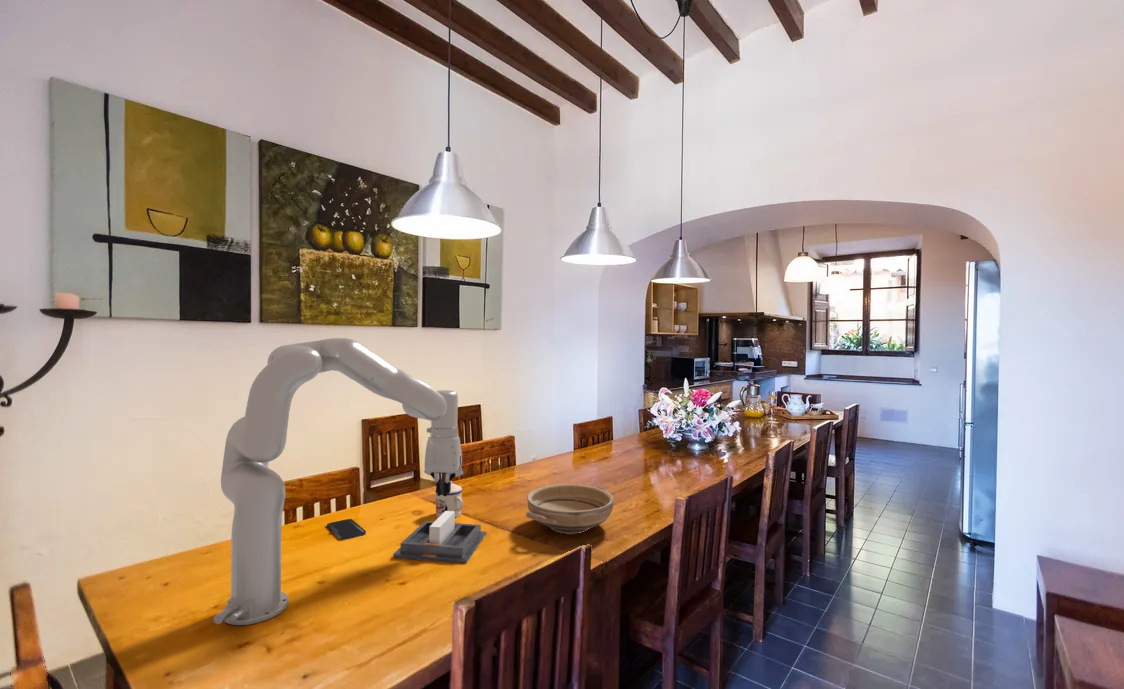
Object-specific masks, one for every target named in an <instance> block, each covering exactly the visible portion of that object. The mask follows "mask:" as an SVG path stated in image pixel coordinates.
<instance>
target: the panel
mask: <svg viewBox="0 0 1124 689" xmlns="http://www.w3.org/2000/svg"><path fill="white" fill-rule="evenodd" d="M455 520H456V518H455V511H445V512H444V513H443V514H442V515H441V516H440V517H439V518H438V517H437V518H436V520H435V521H433V522H434V523H433V524H432V525H431V526H430V530H429V543H437V544H440V545H441V543H442V542H443V541H444V540H445V539H446V538H447V537H448V536H449V535H450V534H451V532H452V531H453V530H454V529H455V523H456V522H455Z"/></svg>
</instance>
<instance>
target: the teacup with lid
mask: <svg viewBox="0 0 1124 689" xmlns="http://www.w3.org/2000/svg"><path fill="white" fill-rule="evenodd" d="M462 493H463V488H462V486H461V485H457V484H456V483H453V481H452V480H451V491H450V493H449V494H448V495H447V496H443V494H441V495H440V496H437V492H436V490H435V516H436V517H437V519H438V518H439V517H440V516H441V515H442V514H443V513H444V512H445V511H455V517H456V518H458V517H460V516H461V515H462V510H463V508H464V500H463V499H462V497H463V496H462Z"/></svg>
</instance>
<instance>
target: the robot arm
mask: <svg viewBox="0 0 1124 689" xmlns="http://www.w3.org/2000/svg"><path fill="white" fill-rule="evenodd" d="M330 371H333V372H339V373H341V374H343V375H344V376H346V377H348V378H349V379H351V380H352V381H355V382H356V383H358V384H359V385H361V386H362V387H363V388H365V389H367V390H368V391H370V392H371V393H373V394H375V395H378V396H379V397H382V398H386V399H388V400H392V401H395V402H398V403H400V404H402V405H401V406H402V409H403V412H404V413H405V414H407V415H408V416H410V417H413V418H416V419H422V420H427V421H430V422H431V424H430V427H427V428H426V433H428V434H429V435H430V436H428V437H427V441H426V447H425V455H424V471H423V472H424V474H426V475H428V476H431V477H432V479H433V480H434V482H435V483H436V484H435V491H436V492H437V496H440V495H441V494H443V496H447V495H448V494H449V493H450V491H451V481H452V480H453V479H454V478H456V477H459V476H462V475H463V474H464V471H463V467H462V466H463V457H462V456H463V452H462V444H461V438H460V436H458V416H459V415H458V413H459V412H458V410H459V409H458V407H459V405H458V404H459V396H458V392H457V391H454V390H449V389H448V390H445V389H443V390H436V389H434V388H432V387H431V386H430V385H428V384H426V383H424V382H423V381H421V380H419V379H418V378H416V377H414V376H413V375H410V374H409V373H406V372H405V371H403V370H401V369H399V368H397V367H395V366H394V365H392V364H390V363H389V362H388V361H386V360H385V359H384V358H382V357H380V356H379V355H377V354H376V353H374V352H373V351H372V350H370V349H368V348H367V347H366V346H364V344H362V343H360V342H359V341H356V340H354V339H351V338H343V337H341V338H340V337H334V338H332V337H331V338H326V339H320V340H313V341H308V342H300V343H291V344H286V345H285V344H284V345H281V346H278V347H276V348H275V349H273V350H272V351H271V353H270V354H269V355H268V358H267V365H266V366H265V367H263V369H262V370H261V371H260V372H259V373H258V374H257V375H256V377H255V379H254V380H253V382H252V384H251V386H250V389H249V392H248V396H247V397H248V398H247V402H246V407H245V414H244V416H243V417H240V418H239V419H237V421H235V422H234V423H233V424H232V425H231V427H230V429H229V430H228V433H227V435H226V440H225V445H224V451H223V460H222V468H221V476H220V487H221V492H222V494H223V495H224V496H225V497H226V498H227V499H228V500H229V501H230V502H231V504H234V511H233V512H234V513H233V519H232V524H231V525H232V526H231V536H230V537H231V538H230V539H231V540H230V542H231V543H230V545H231V547H230V548H231V551H230V553H231V554H230V556H231V558H230V560H231V562H230V563H231V564H230V565H231V566H230V570H231V571H230V597H229V599H227V604H226V606H225V607H224V608H223V609H222V611H220V612H219V613H218V614H216V615H214V617H213V622H214V624H216V625H221V624H222V623H225V624H226V623H227V624H228V625H231V626H248V625H253V624H258V623H261V622H264V621H267V620H269V619H272V618H274V617H276V616H277V615H279V614H281V613H282V612H283V611H285V609H286V608H287V607H288V605H289V602H290V601H289V596H288V594H286V593H285V592H282V540H283V538H282V528H283V527H282V526H283V525H282V522H283V511H284V506H285V501H286V485H285V482H284V480H283V479H282V477H281V476H280V474H278V473H277V472H276V471H274V470H273V469H271V468H269V462H272V461H275V460H276V459H278V457H280V455H282V453H283V452H284V450H285V448H286V447H285V446H286V442H287V435H288V426H289V418H290V410H291V405H292V401H293V398H294V395H295V394H296V392H297V390H298V389H299V388H300V387H301V386H303V385H304V384H305V383H307V382H309V381H311V380H313V379H314V378H315V377H316V376H318V375H319V374H322V373H326V372H330ZM443 474H445V480H444V479H443ZM436 492H435V493H436Z"/></svg>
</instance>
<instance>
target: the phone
mask: <svg viewBox="0 0 1124 689" xmlns="http://www.w3.org/2000/svg"><path fill="white" fill-rule="evenodd" d="M326 528H328V530H329V531H330V530H331V531H332V532H333V533H334V534H335V535H336V536H337V537H338V538H339V539H340V541H345V539H346V540H349V539H354V538H358V537H363V536H366V534H367V530H365V529H364V528H363V527H362V526H361V525H359V524H358V523H357V522H356V521H355V520H354V519H352V518H346V519H342V520H338V521H337V520H336V521H331V522H328V523H327V524H326ZM331 531H330V532H331ZM332 532H331V533H332ZM333 533H332V534H333ZM335 535H334V536H335ZM336 536H335V537H336ZM337 537H336V538H337ZM338 538H337V539H338ZM339 539H338V540H339Z"/></svg>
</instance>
